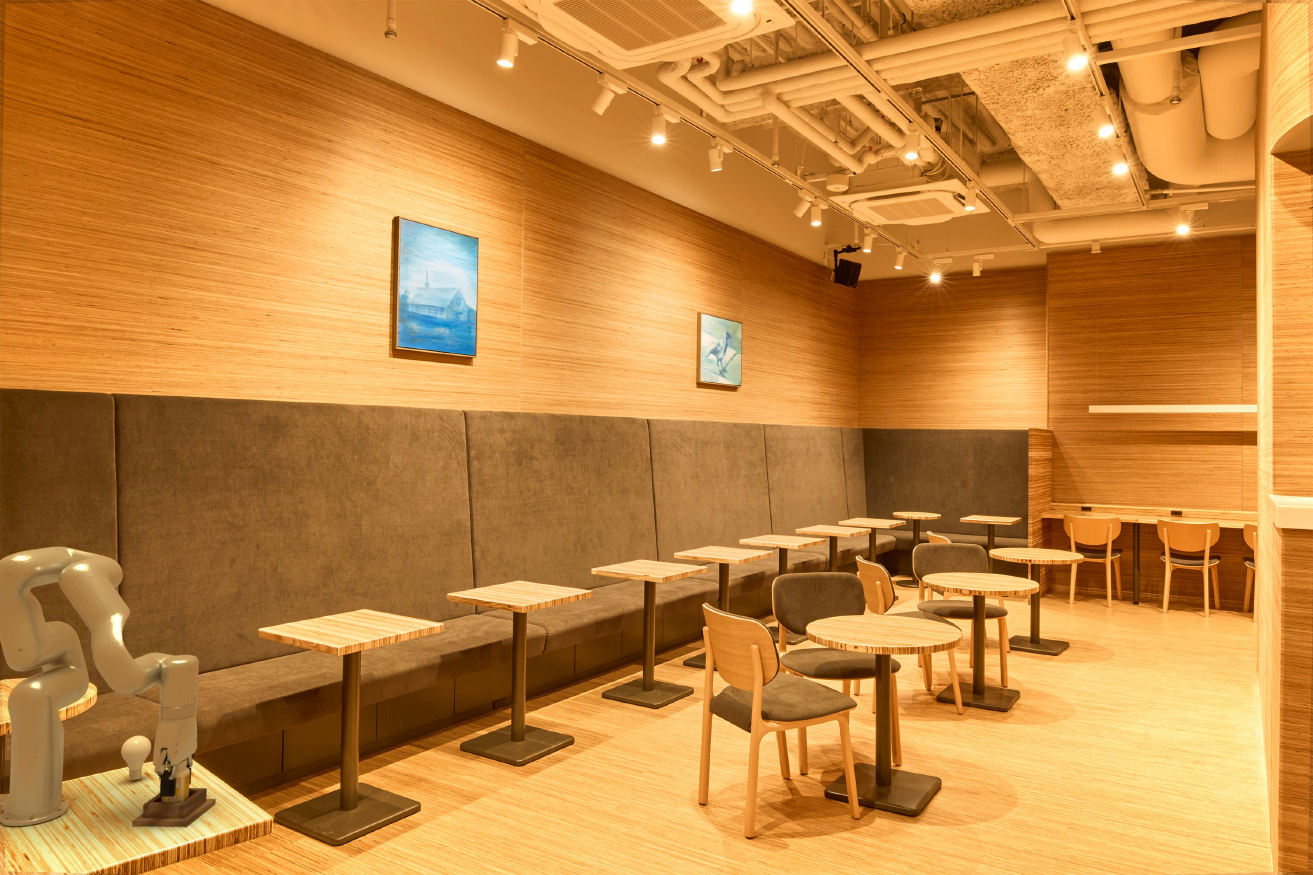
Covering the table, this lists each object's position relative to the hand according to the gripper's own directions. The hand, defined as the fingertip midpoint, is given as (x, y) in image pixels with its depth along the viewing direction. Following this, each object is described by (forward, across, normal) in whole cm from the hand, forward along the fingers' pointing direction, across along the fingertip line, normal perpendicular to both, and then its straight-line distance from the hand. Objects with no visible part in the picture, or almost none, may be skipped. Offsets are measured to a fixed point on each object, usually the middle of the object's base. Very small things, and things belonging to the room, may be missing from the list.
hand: (175, 789), depth 185 cm
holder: (+6, 0, 0) cm, 6 cm away
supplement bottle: (+3, 0, 0) cm, 3 cm away
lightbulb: (+6, -19, -21) cm, 29 cm away
